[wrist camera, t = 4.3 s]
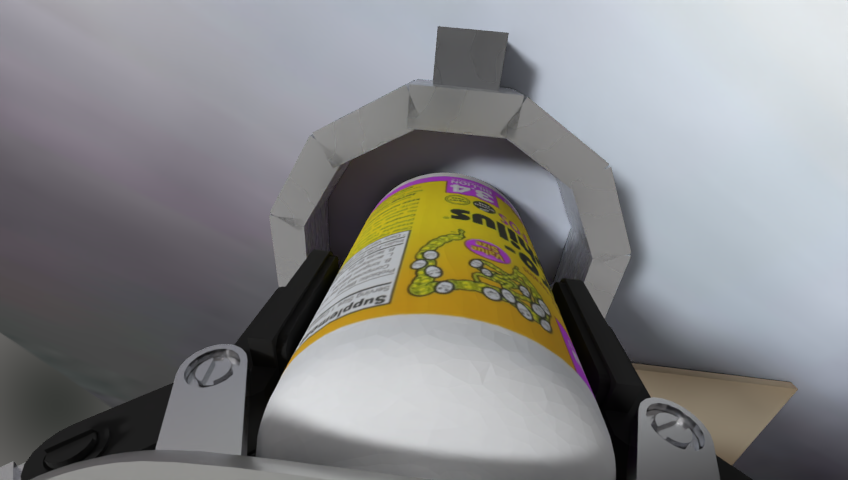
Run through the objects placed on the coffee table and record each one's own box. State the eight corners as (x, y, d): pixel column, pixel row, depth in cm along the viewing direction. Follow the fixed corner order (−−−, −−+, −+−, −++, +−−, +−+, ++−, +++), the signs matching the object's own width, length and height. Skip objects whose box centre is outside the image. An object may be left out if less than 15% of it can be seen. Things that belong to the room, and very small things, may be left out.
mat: (562, 354, 17) (564, 360, 17) (790, 382, 17) (797, 389, 17) (516, 478, 22) (517, 485, 22) (690, 501, 22) (694, 509, 22)
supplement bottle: (553, 259, 15) (877, 916, 3) (430, 326, 17) (383, 858, 6) (462, 129, 13) (541, 759, 1) (334, 226, 15) (-45, 766, 4)
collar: (282, 15, 11) (241, 5, 9) (666, 51, 11) (718, 50, 9) (312, 355, 19) (293, 395, 16) (545, 384, 18) (557, 429, 16)
